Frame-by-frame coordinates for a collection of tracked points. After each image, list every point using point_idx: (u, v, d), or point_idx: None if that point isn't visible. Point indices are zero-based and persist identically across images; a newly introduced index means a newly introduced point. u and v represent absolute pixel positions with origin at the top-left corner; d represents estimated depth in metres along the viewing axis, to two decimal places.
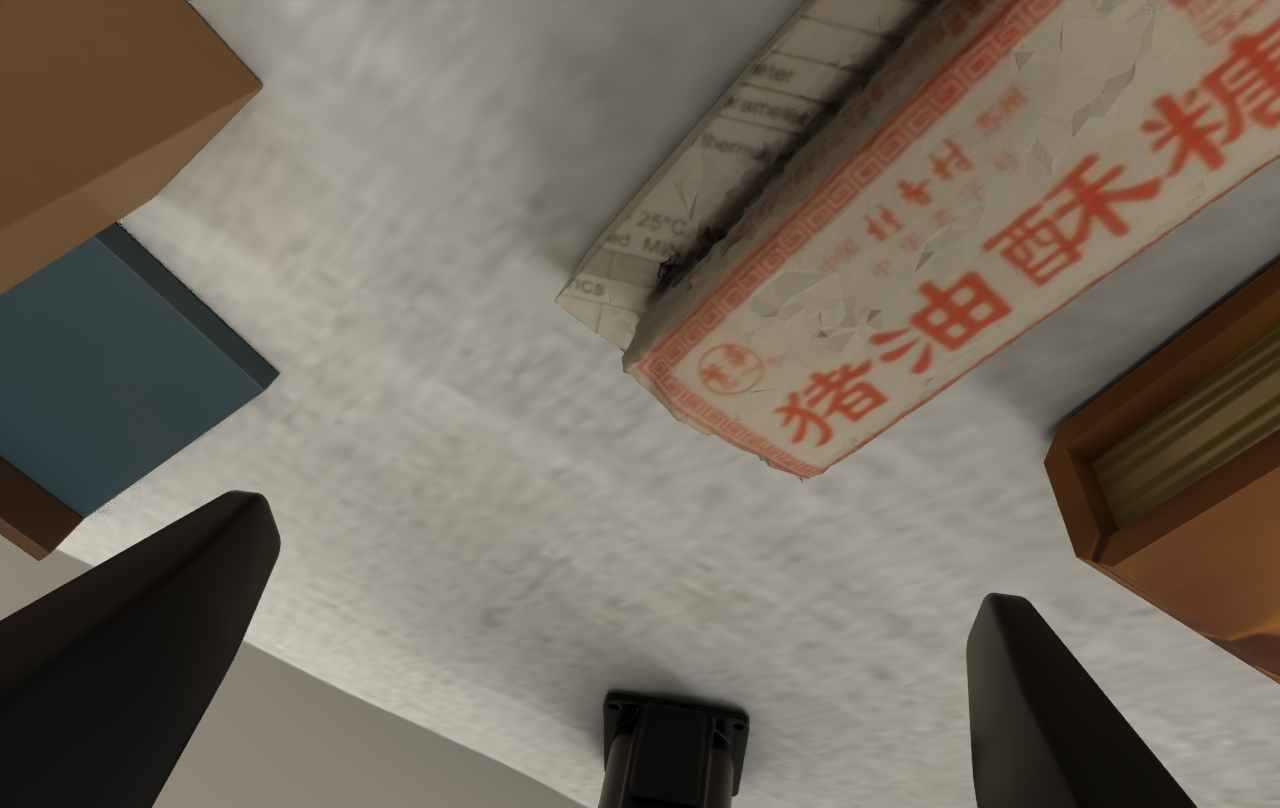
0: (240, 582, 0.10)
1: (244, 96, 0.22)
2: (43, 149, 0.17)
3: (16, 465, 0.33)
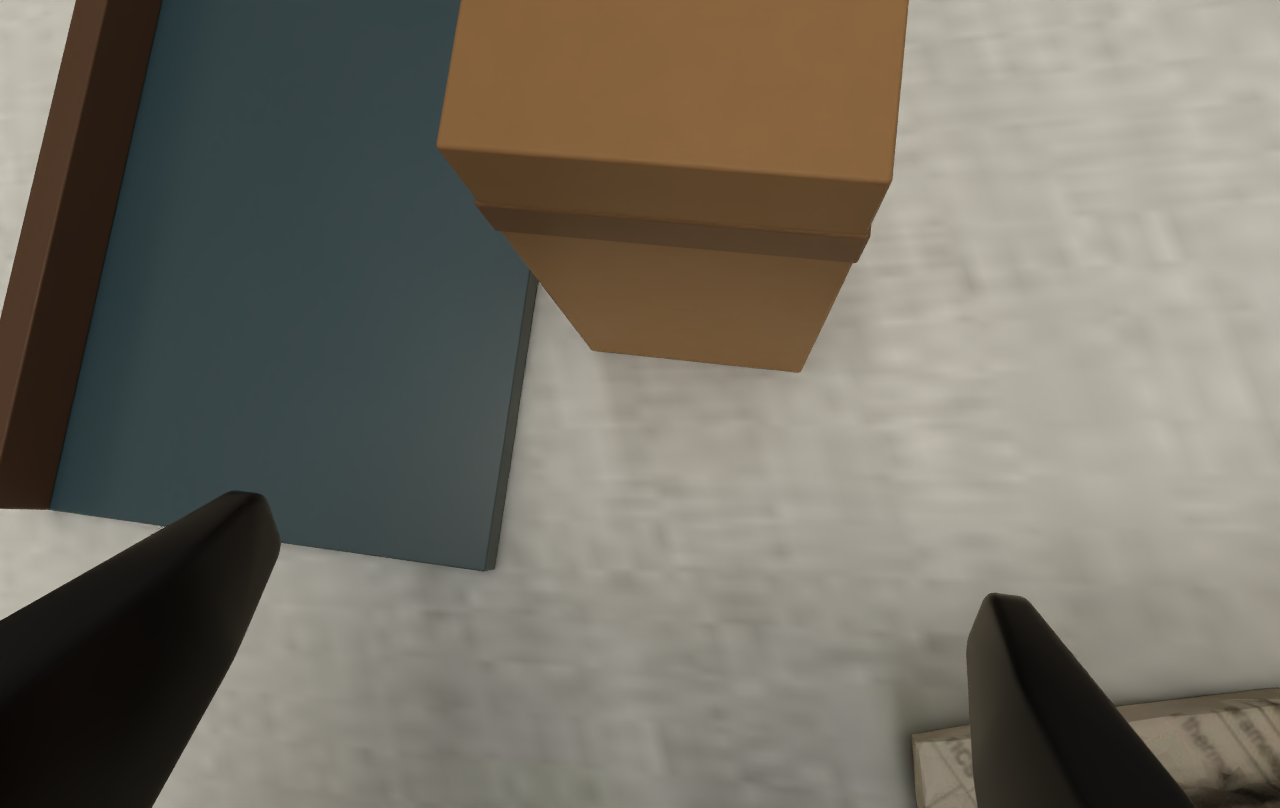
0: (241, 582, 0.10)
1: (802, 365, 0.22)
2: None
3: (78, 400, 0.24)
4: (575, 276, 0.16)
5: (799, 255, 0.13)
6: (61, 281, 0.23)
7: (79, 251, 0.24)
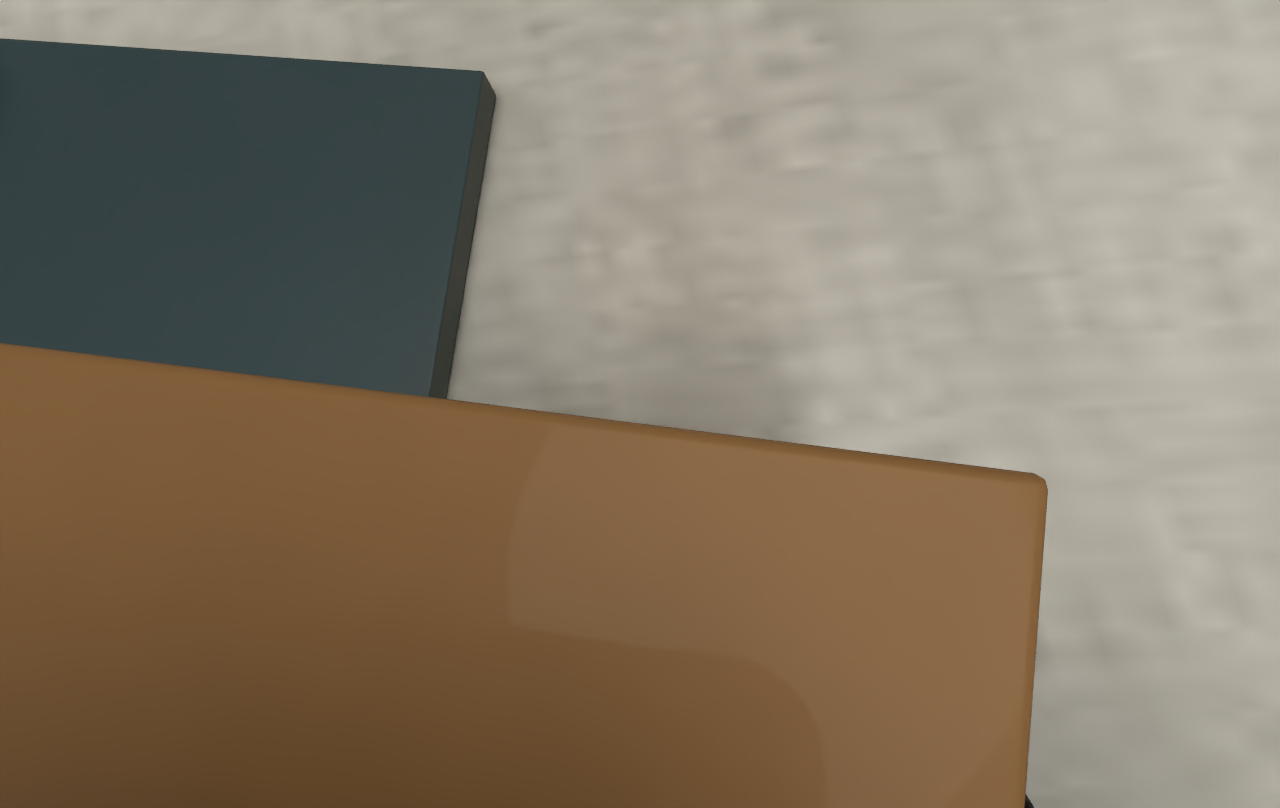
0: None
1: None
2: None
3: None
4: None
5: None
6: None
7: None
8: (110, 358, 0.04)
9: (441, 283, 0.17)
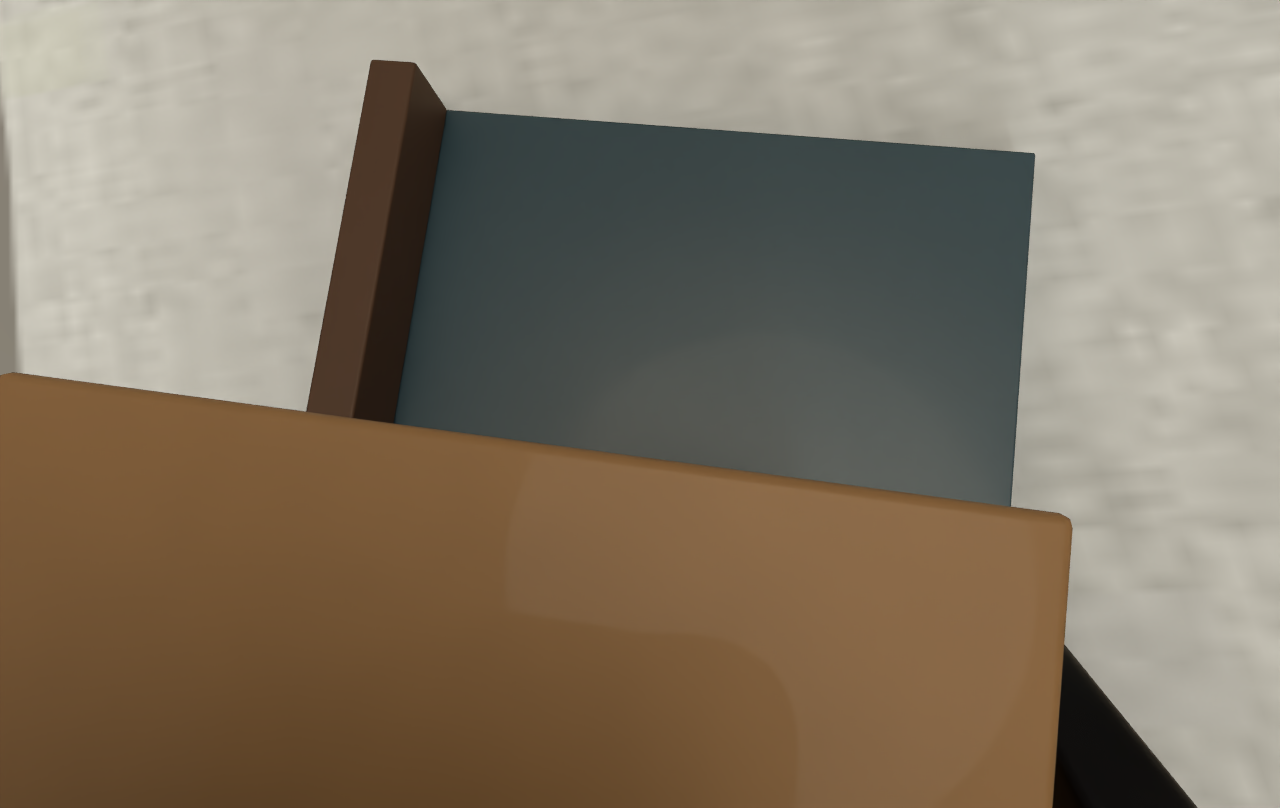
0: None
1: None
2: None
3: None
4: None
5: None
6: None
7: None
8: (195, 398, 0.05)
9: (1014, 371, 0.17)
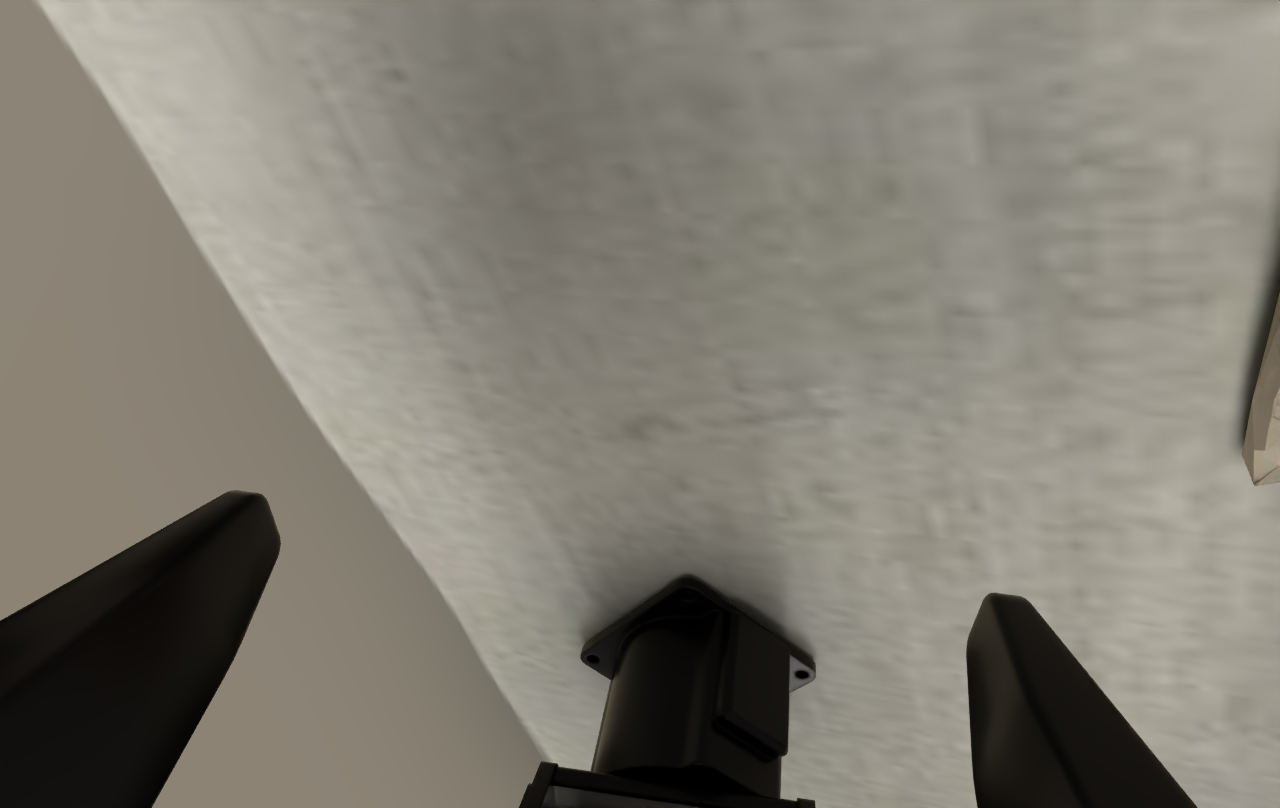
0: (241, 582, 0.10)
1: None
2: None
3: None
4: None
5: None
6: None
7: None
8: None
9: None
